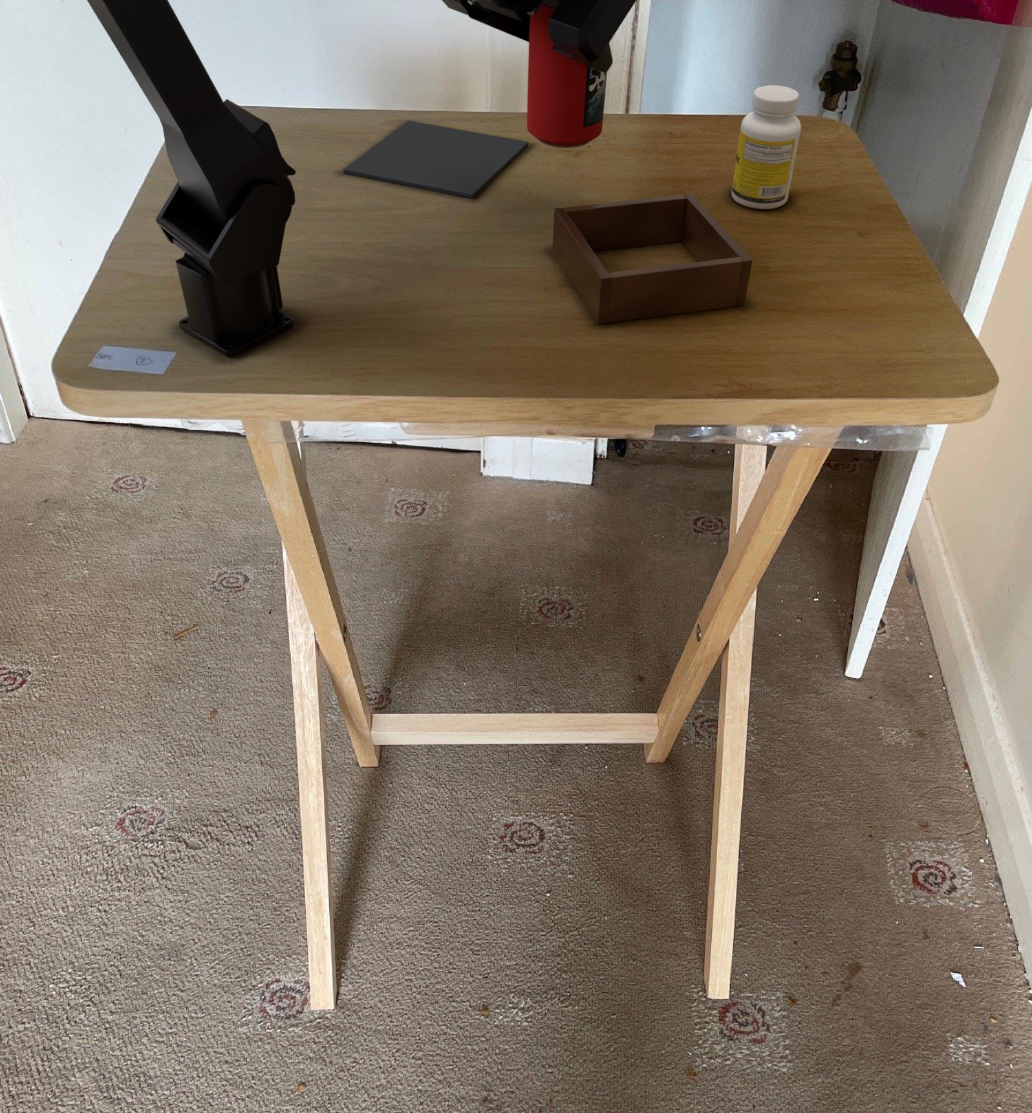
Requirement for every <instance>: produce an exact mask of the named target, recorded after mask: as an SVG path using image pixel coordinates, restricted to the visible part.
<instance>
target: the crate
mask: <svg viewBox="0 0 1032 1113" xmlns="http://www.w3.org/2000/svg"><path fill="white" fill-rule="evenodd" d="M552 230H553V232H552V253H553V255H554V257H555V258H556V259H557V261H558V263H559V265H560V266H561V267H562V269H563V271H564V273H565V274H566V275H567V277H568V279H569V280H570V282H571V284H572V285H573V287H574V289H575V290H576V292H577V293H578V295H579V296H580V298H581V300H582V301H583V303H584V304H585V306H586V308H587V309H588V311H589V312H590V315H591V316H592V317H593V319H594V320H595V322H596V324H597V325H605V324H611V323H612V324H613V323H619V322H620V323H621V322H627V321H635V320H641V319H642V320H643V319H650V318H658V317H665V316H672V315H680V314H686V313H687V314H688V313H695V312H702V311H710V310H718V309H724V308H734V307H740V306H745V304H746V298H747V292H748V288H749V282H750V275H751V271H752V265H753V259H752V258H751V257H750V256H749V255H748V253H746V251H745V250H744V249H743V248H742V247H741V246H740V244H738V243H737V241H736V240H735V239H734V238H733V237H732V236H731V235H730V234H729V233H728V232H727V230H726V229H725V228H724V226H722V224H720V223H719V222H718V221H717V219H716V218H715V217H714V216H713V215H712V214H711V212H709V210H708V209H707V208H706V207H705V206H704V205H703V204H702V202H700V201H699V200H698V199H697V197H696V196H695V195H694V194H693V193H685V194H675V195H668V196H658V197H647V198H639V199H630V200H620V201H611V202H604V203H603V202H602V203H592V204H584V205H574V206H565V207H564V206H563V207H555V208H553V229H552ZM677 242H682V244H684V246H685V247H686V248H687V249H688V250H689V252H690V253H691V254H692V255H693V257H694V258H695V260H697V261H694V262H688V263H687V262H686V263H678V264H677V263H676V264H669V265H661V266H653V267H645V268H637V269H629V270H620V271H613V272H612V271H611V272H608V271H607V269H606V268H605V266H604V265H603V264H602V262H601V260H600V259H599V258H598V256H597V255H596V254H595V252H600V251H607V250H608V251H609V250H617V249H625V248H632V247H641V246H650V245H659V244H667V243H677Z"/></svg>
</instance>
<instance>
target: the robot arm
mask: <svg viewBox="0 0 1032 1113" xmlns="http://www.w3.org/2000/svg"><path fill="white" fill-rule="evenodd" d="M86 1H87V3H88V5H89V6H90V8H91V10H92V11H93V13H94V14H95V16H96V18H97V19H98V21H99V22H100V24H101V26H102V27H103V29H104V31H105V32H106V33H107V36H108V37H109V39H110V41H111V42H112V43H113V46H114V47H115V48H116V50H117V52H118V53H119V55H120V56H121V59H122V60H123V62H124V63H125V65H126V67H127V68H128V70H129V71H130V73H131V75H132V76H133V78H134V79H135V81H136V83H137V85H138V87H139V88H140V89H141V92H142V93H143V94H144V96H145V97H146V99H147V101H148V102H149V104H150V106H151V107H152V109H153V111H154V112H155V114H156V115H157V117H158V119H159V122H160V124H161V127H162V131H163V132H162V133H163V138H164V143H165V144H164V145H165V150H166V156H167V158H168V161H169V163H170V166H171V168H172V172H173V173H174V175H175V177H176V181H177V182H176V184H175V186H174V187H173V189H172V191H171V192H170V193H169V196H168V197H167V199H166V201H165V202H164V204H163V206H162V208H161V210H160V211H159V213H158V214H157V215H156V218H155V222H156V224H157V226H158V227H159V230H161V232H162V233H163V235H164V237H165V238H166V240H167V241H168V242H169V243H171V244H173V245H175V246H176V247H178V248H179V249H180V250H181V251H183V256H181V258H180V257H179V258H178V259H176V260H175V265H176V270H177V273H178V278H179V282H180V283H179V284H180V286H181V291H182V295H183V299H184V304H185V308H186V314H187V316H186V317H184V318H183V319H181V320H179V321H178V326H179V329H180V330H182V331H183V332H185V333H186V334H188V335H190V336H192V337H194V338H195V339H197V340H199V341H200V342H202V343H203V344H206V345H207V346H209V347H211V348H212V349H214V350H216V351H218V352H219V353H221V354H222V355H224V356H227V357H232V356H235V355H237V354H239V353H242V352H243V351H245V350H247V349H249V348H251V347H253V346H255V345H257V344H260V343H261V342H264V341H265V340H267V339H269V338H271V337H273V336H275V335H277V334H280V333H281V332H283V331H285V330H287V329H289V328H291V327H293V326H294V324H295V323H294V322H295V321H294V318H293V316H291V315H288V314H287V313H285V312H283V311H281V310H282V309H283V308H284V302H283V296H282V290H281V284H280V277H279V276H280V275H279V271H278V266H279V264H280V260H281V254H282V249H283V243H284V238H285V237H284V236H285V231H286V225H287V223H288V220H289V218H290V217H291V214H292V210H293V206H294V205H295V204H296V192H295V190H294V189H295V188H294V187H293V183H292V181H291V179H290V177H289V176H295V175H296V173H297V171H296V170H295V169H294V168H293V167H292V166H291V165H289V164H288V163H287V161H286V160H285V158H284V156H283V155H282V152H281V151H280V148H279V144H278V141H277V138H276V135H275V133H274V131H273V129H272V128H271V127H272V126H271V125H270V124H269V123H268V122H267V121H266V120H264V119H262V118H260V117H259V116H258V115H256V114H253V113H251V112H250V111H248V110H247V109H245V108H243V107H242V106H240V105H238V104H237V103H235V102H233V101H231V100H230V99H228V98H226V99H225V100H223V98H222V96H221V94H220V93H219V91H218V89H217V87H216V86H215V84H214V82H213V80H212V79H211V77H210V75H209V72H208V71H207V69H206V67H205V66H204V63H203V61H202V60H201V58H200V56H199V55H198V53H197V50H196V49H195V47H194V44H192V42H191V40H190V38H189V36H188V35H187V32H186V31H185V29H184V26H183V25H182V23H181V21H180V20H179V18H178V16H177V15H176V12H175V10H174V9H173V7H172V5H171V3H170V2H169V0H86ZM441 1H442V2H443V4H445V5H446V7H447V8H448V9H451V10H453V11H456V12H458V13H461V14H463V15H465V16H467V17H468V18H470V19H472V20H474V21H476V22H479V23H481V24H484V25H486V26H488V27H491V28H492V29H495V30H498V31H500V32H503V33H505V34H508V35H510V36H512V37H515V38H517V39H520V40H521V41H525V42H527V43H529V31H530V15H535V14H536V12H537V11H538V9H539V7H540V5H543V6H546V7H549V8H551V9H554V12H553V13H552V15H551V17H550V18H549V38H550V39H551V41H552V42H553V43H554V46H553V48H552V50H553V51H555V52H557V53H559V54H562V55H564V56H566V57H569V58H571V59H573V60H576V61H578V62H580V63H583V64H585V65H587V66H590V67H592V68H594V69H597V70H599V71H601V72H604V73H606V72H607V73H608V71H609V70H610V68H611V67H612V66H613V64H614V60H613V55H612V50H611V45H610V44H611V43H610V42H611V41H612V39H613V38H614V36H615V35H616V33H617V31H618V30H619V28H620V27H621V25H622V24H623V22H624V21H625V19H626V18H627V16H628V14H629V13H630V11H631V10H632V8H633V6H635V4H636V2H637V0H441Z"/></svg>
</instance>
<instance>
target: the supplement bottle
mask: <svg viewBox="0 0 1032 1113" xmlns="http://www.w3.org/2000/svg"><path fill="white" fill-rule="evenodd" d="M752 96H753V97H752V101H751V109H752V111H751V112H749V113H748V114H746V115H745V116H744V118H743V119H742V121H741V124H740V130H739V135H738V136H739V138H738V143H737V144H738V145H737V151H736V157H735V164H734V171H733V172H734V173H733V179H732V184H731V185H732V186H731V197H732V199H733V200H734V201H735V203H737V204H739V205H741V206H744V207H747V208H749V209H750V208H751V209H755V210H756V209H757V210H772V209H777V208H779V207H781V206H783V205H785V204H786V203H787V201H788V199H789V196H790V191H791V186H792V182H793V181H792V180H793V175H794V170H795V165H796V160H797V153H798V149H799V143H800V139H801V138H800V137H801V132H802V123H801V121H800V119H799V118H798V117H797V116H796V115H795V114H796V113H797V108H798V105H799V98H800V94H799V92H798V91H797V90H796V89H793V88H791V87H788V86H784V85H776V84H775V85H774V84H773V85H771V84H770V85H763V86H759V87H757V88H756V89H755V90H754V91H753V94H752Z"/></svg>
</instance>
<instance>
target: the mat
mask: <svg viewBox="0 0 1032 1113" xmlns="http://www.w3.org/2000/svg"><path fill="white" fill-rule="evenodd" d="M528 146H529V141H526V140H520V139H514V138H510V137H509V138H508V137H503V136H497V135H492V134H486V133H482V132H481V133H480V132H475V131H469V130H463V129H458V128H452V127H447V126H443V125H442V126H441V125H436V124H432V123H431V124H430V123H425V122H420V121H414V120H407V121H405V122H404V123H403V124H401V126H399V127H398V128H396V129H395V130H394V131H392V132H391V133H390V134H388V135H387V136H386V137H384V138H382V140H380V141H379V142H378V143H377V144H375V145H373V146H372V147H371V148H369V149H368V150H367V151H366V152H364V153H363V154H362V155H360V156H359V157H357V159H355V160H353V161H352V162H351V163H350V164H348V165H347V166H346V167H345V168H343V169H342V170H343V171H342V172H343V174H345V175H352V176H357V177H362V178H367V179H372V180H377V181H382V182H387V183H392V184H398V185H403V186H407V187H413V188H417V189H423V190H428V191H433V192H437V193H441V194H442V193H443V194H447V195H453V196H457V197H462V198H469V199H474V198H475V197H476V196H477V195H478V194H479V193H480V192H481V191H482V190H483V189H484V188H486V186H488V184H490V183H491V182H492V181H493V180H494V179H495V178H496V177H497V176H498V175H499V174H500V173H501V172H502V171H503V170H504V169H505V168H506V167H507V166H508V165H509V164H510V163H512V162H513V161H514V160H515V159H516V158H517V157H518V156H519V155H521V153H522V152H523V151H524V150H526V149H527V147H528Z"/></svg>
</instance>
